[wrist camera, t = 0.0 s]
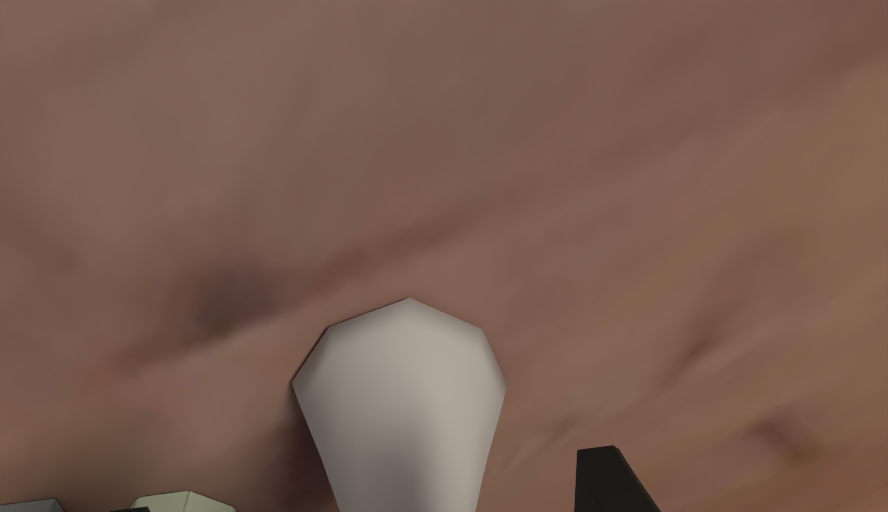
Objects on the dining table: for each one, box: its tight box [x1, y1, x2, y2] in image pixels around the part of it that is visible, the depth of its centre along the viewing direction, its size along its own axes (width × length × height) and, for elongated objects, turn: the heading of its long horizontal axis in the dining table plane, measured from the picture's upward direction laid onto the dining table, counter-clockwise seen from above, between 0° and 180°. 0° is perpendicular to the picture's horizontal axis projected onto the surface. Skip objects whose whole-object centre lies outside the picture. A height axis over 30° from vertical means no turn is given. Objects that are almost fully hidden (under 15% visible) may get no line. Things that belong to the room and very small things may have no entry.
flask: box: [292, 298, 507, 512], centre depth 19 cm, size 7×7×10 cm
